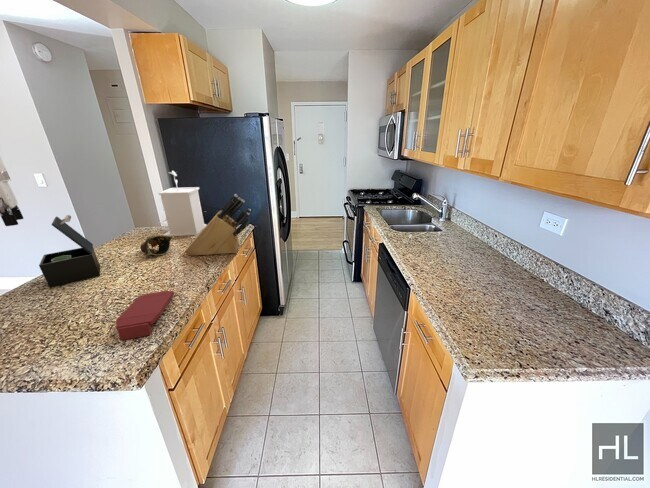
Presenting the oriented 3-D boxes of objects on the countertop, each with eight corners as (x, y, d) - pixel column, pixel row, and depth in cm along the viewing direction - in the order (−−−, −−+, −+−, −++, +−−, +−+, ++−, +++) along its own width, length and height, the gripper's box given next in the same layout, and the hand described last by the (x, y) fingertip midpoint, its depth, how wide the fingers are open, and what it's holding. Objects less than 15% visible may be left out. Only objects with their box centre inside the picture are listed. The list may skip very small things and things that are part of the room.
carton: (142, 306, 103) (112, 341, 80) (139, 294, 102) (108, 327, 78) (176, 300, 106) (157, 333, 83) (174, 289, 105) (154, 319, 82)
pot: (153, 230, 150) (167, 225, 140) (166, 245, 155) (182, 241, 145) (126, 249, 138) (140, 245, 128) (142, 264, 144) (156, 262, 134)
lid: (51, 224, 104) (63, 217, 106) (55, 217, 114) (66, 210, 115) (90, 254, 114) (101, 246, 116) (91, 245, 124) (101, 238, 126)
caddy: (49, 288, 109) (38, 265, 105) (53, 276, 119) (43, 254, 115) (100, 275, 119) (92, 254, 115) (99, 265, 129) (92, 245, 124)
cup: (56, 280, 113) (47, 262, 110) (63, 274, 119) (56, 256, 115) (74, 278, 115) (66, 260, 112) (81, 271, 121) (73, 254, 118)
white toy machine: (159, 236, 166) (142, 172, 151) (177, 223, 191) (164, 167, 176) (198, 235, 168) (185, 171, 153) (210, 222, 193) (200, 167, 178)
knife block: (253, 252, 142) (246, 196, 130) (185, 257, 137) (172, 199, 126) (255, 244, 152) (249, 192, 141) (192, 248, 148) (180, 194, 136)
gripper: (-15, 176, 98) (6, 219, 105) (-31, 181, 86) (-6, 230, 92) (14, 174, 103) (33, 216, 109) (3, 179, 90) (24, 225, 97)
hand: (15, 222), depth 101 cm, fingers open, 9 cm apart
